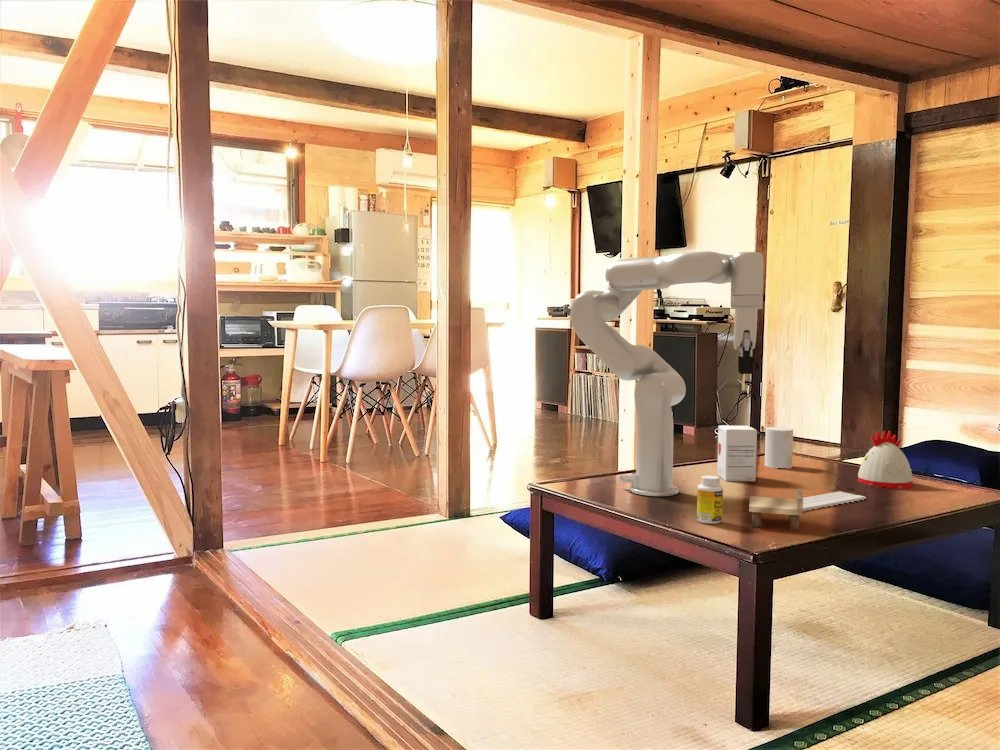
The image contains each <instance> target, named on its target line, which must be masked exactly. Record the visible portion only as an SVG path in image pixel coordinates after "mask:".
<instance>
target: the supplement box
mask: <svg viewBox="0 0 1000 750" xmlns="http://www.w3.org/2000/svg"><path fill="white" fill-rule="evenodd" d="M757 438H758V430H757V429H755V428H754V427H752V426H750V425H727V424H723V425H718V426H717V467H716V468H717V471H716V472H717V473H716V476H718V477H719V478H721V480H723V481H725V482H756V480H757V479H756V478H757V447H758V443H757V442H758V439H757Z"/></svg>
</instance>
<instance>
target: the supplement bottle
mask: <svg viewBox="0 0 1000 750" xmlns="http://www.w3.org/2000/svg"><path fill="white" fill-rule="evenodd" d="M720 478H721V477H719V476H718V475H703V476H701V480H700V481H701V483H700V484H698V485H697V501H696V502H697V503H696V505H697V506H696V520H697V521H698V523H702V524H706V525H716V524H720V523H722V521H723V507H724V506H723V505H724V502H723V500H724V499H723V498H724V497H723V496H724V488H723V486H722V485H721V484H720V483H721V479H720Z"/></svg>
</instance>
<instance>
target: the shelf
mask: <svg viewBox="0 0 1000 750" xmlns="http://www.w3.org/2000/svg"><path fill="white" fill-rule="evenodd" d="M803 498H804V497H803V492H802V489H801V488H796V489H795V498H784V497H768V496H767V497H766V496H755V495H749V505H748V508H749V509H748V512H750V513H751V527H752V526H755V527H754V528H760V527H761V513H763V514H778V515H788V521H789V522H790V523H789V529H790V530H791V529H793V530H792V531H799V530H800V516H804V515H803V514H804V512H803ZM759 526H760V527H759Z"/></svg>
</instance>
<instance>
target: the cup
mask: <svg viewBox="0 0 1000 750" xmlns="http://www.w3.org/2000/svg"><path fill="white" fill-rule="evenodd" d="M793 442H794V429H793V428H791V427H782V426H781V427H780V426H772V427H771V426H769V427H765V441H764V447H765V448H764V467H765V466H767V467H770V468H769V469H772V468H791V467H792V468H793V456H794V455H793V452H794V451H793V450H794V448H793V446H794V443H793ZM767 467H766V468H767ZM792 468H791V469H792Z"/></svg>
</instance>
